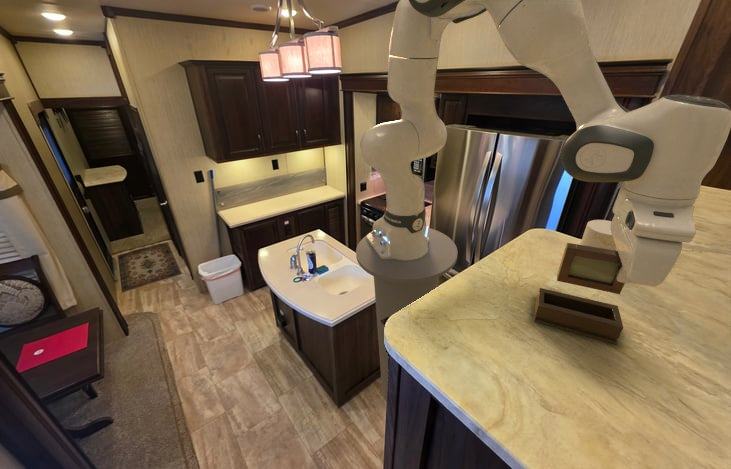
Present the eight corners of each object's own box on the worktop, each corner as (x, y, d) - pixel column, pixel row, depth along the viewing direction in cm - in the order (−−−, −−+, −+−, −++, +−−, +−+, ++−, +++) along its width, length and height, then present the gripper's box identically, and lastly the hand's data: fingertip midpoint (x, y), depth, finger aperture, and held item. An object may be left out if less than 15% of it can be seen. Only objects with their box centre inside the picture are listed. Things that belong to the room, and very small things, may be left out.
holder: (535, 299, 68) (539, 285, 66) (610, 318, 61) (617, 303, 59) (534, 321, 62) (538, 307, 60) (616, 344, 55) (624, 329, 53)
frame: (556, 275, 60) (566, 242, 56) (618, 288, 55) (633, 253, 51) (556, 281, 58) (567, 247, 54) (619, 294, 54) (635, 259, 50)
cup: (579, 274, 74) (594, 233, 68) (570, 257, 81) (582, 218, 75) (617, 278, 72) (635, 236, 66) (604, 259, 79) (619, 220, 73)
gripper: (615, 183, 56) (593, 244, 62) (638, 230, 40) (606, 304, 47) (658, 187, 53) (630, 250, 59) (701, 238, 37) (657, 316, 44)
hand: (620, 275), depth 53 cm, fingers closed on frame, 2 cm apart
